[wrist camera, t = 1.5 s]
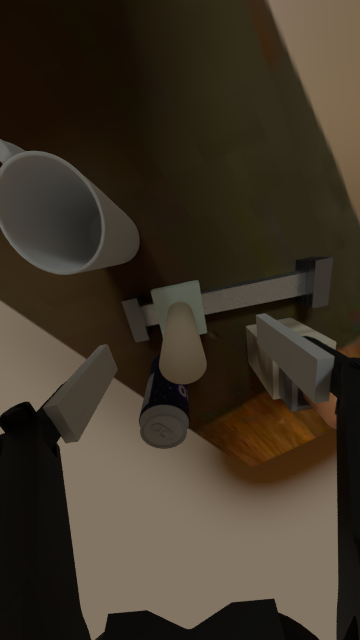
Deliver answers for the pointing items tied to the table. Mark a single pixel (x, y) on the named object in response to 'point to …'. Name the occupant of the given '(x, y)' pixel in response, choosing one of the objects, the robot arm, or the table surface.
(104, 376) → the robot arm
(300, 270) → the rail
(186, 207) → the table surface
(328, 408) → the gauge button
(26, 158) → the mug
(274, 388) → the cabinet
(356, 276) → the table surface
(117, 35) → the table surface
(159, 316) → the carriage
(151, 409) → the beverage can
